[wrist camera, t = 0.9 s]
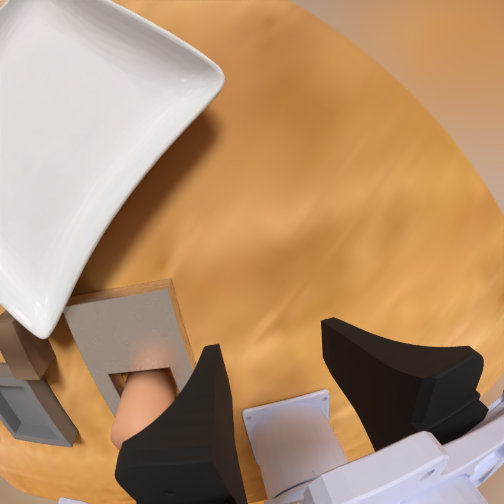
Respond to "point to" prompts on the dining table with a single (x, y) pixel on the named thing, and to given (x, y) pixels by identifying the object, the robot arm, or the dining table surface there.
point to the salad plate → (81, 135)
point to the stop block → (23, 349)
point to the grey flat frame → (130, 335)
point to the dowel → (142, 402)
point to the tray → (33, 411)
